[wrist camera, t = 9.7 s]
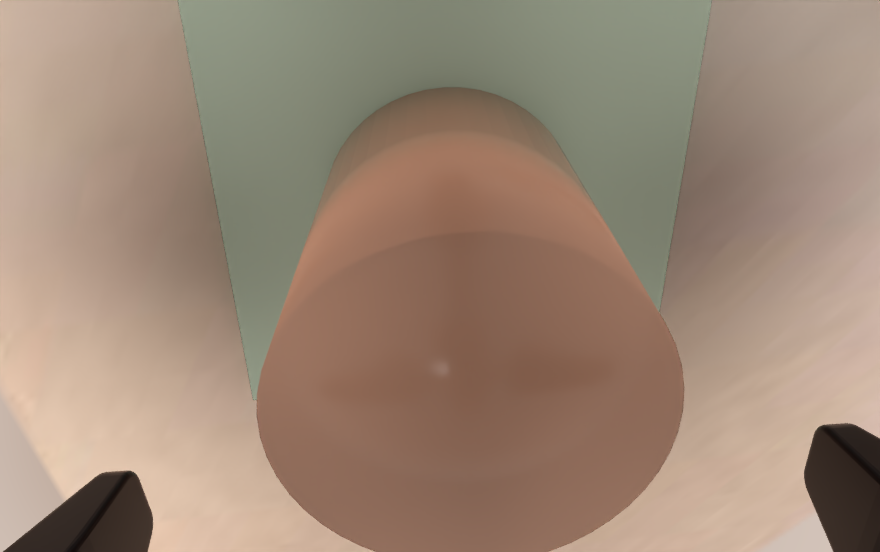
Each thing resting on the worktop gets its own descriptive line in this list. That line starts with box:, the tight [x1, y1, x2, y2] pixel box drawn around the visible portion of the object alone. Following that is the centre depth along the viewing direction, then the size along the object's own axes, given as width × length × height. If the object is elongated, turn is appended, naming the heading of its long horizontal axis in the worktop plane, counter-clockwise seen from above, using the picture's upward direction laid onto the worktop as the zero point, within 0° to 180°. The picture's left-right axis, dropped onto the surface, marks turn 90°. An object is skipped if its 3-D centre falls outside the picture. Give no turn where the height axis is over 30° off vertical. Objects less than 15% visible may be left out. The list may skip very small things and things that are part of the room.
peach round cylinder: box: [257, 87, 684, 552], centre depth 13 cm, size 7×6×8 cm
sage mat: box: [178, 0, 712, 400], centre depth 16 cm, size 11×11×1 cm
